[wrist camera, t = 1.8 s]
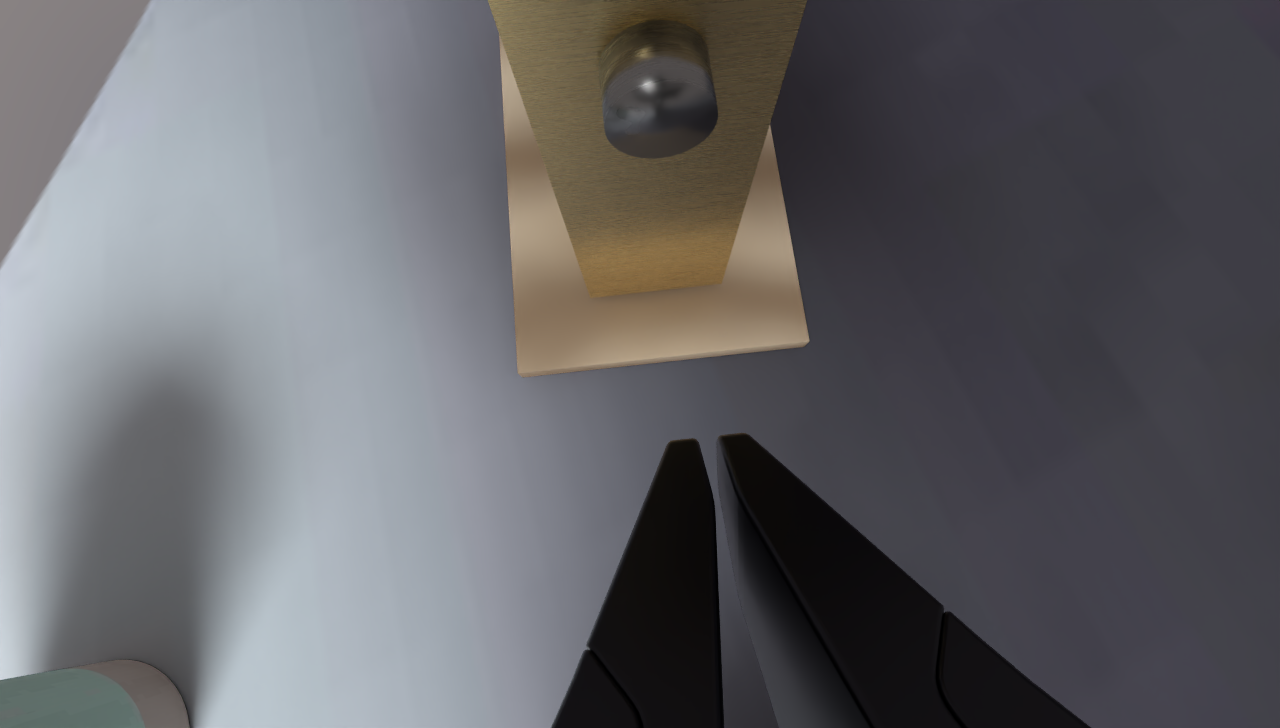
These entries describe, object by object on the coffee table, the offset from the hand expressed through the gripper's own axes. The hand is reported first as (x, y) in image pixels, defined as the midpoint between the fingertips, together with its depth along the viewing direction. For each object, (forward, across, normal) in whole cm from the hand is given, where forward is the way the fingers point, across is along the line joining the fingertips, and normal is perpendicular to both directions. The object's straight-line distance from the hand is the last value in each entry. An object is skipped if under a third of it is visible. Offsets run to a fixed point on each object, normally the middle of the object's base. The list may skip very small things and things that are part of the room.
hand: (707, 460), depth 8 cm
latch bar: (+15, 0, +2) cm, 15 cm away
